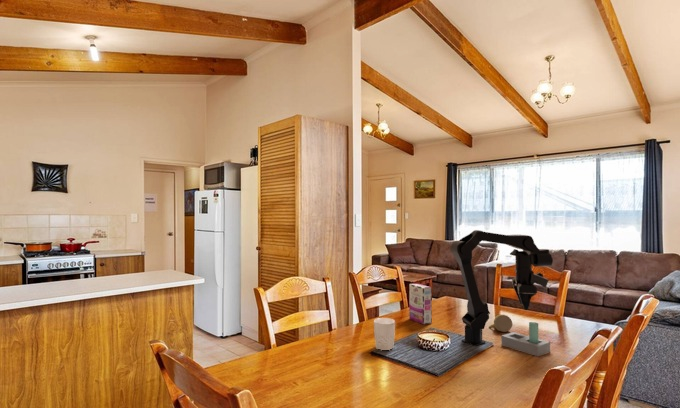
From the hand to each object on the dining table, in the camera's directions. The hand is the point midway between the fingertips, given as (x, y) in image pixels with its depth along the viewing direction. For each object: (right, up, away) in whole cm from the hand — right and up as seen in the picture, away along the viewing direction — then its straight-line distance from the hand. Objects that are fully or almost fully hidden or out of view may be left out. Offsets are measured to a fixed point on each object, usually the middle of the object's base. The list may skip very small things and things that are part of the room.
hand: (524, 307), depth 151 cm
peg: (-2, -13, -12) cm, 17 cm away
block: (-4, -13, -9) cm, 16 cm away
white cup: (-55, -13, -7) cm, 57 cm away
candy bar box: (-35, -14, +27) cm, 46 cm away
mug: (-4, -14, +14) cm, 20 cm away
